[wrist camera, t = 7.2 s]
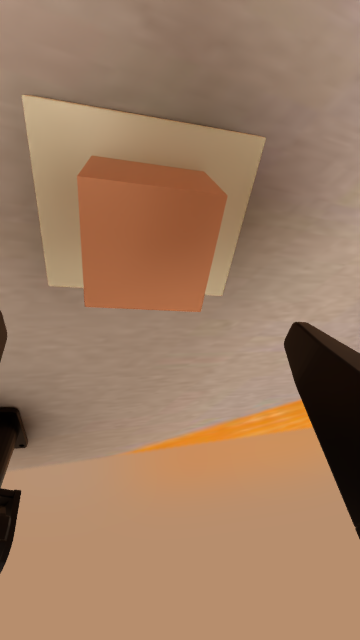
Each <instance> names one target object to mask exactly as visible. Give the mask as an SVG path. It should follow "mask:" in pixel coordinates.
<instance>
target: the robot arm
mask: <svg viewBox="0 0 360 640" xmlns="http://www.w3.org/2000/svg"><path fill="white" fill-rule="evenodd" d="M6 341H7V330H6V326H5V323H4V319H3V315H2V313H1V311H0V361H1V358H2V354H3V351H4V348H5V344H6ZM284 348H285V351H286V354H287V358H288V361H289V365H290V368H291V371H292V375H293V378H294V381H295V384H296V387H297V390H298V392H299V395H300V397H301V399H302V402H303V404H304V407H305V409H306V411H307V414H308V416H309V419H310V421H311V423H312V426H313V428H314V430H315V433H316V435H317V438H318V440H319V442H320V445H321V447H322V450H323V452H324V454H325V457H326V459H327V462H328V464H329V466H330V469H331V471H332V473H333V476H334V478H335V481H336V483H337V486H338V488H339V490H340V493H341V495H342V498H343V500H344V502H345V504H346V507H347V510H348V512H349V514H350V517H351V519H352V522H353V524H354V526H355V527H356V531H357V534H358V536H359V539H360V353H358V352H356V351H355V350H353V349H351V348H349V347H348V346H346V345H344V344H343V343H341V342H339V341H338V340H336V339H334V338H332V337H331V336H329V335H327V334H326V333H324V332H322V331H321V330H319V329H317V328H315V327H314V326H312V325H310V324H309V323H306V322H294V323H293V324H292V326H291V328H290V330H289V332H288V334H287V336H286V338H285V341H284ZM27 444H28V441H27V438H26V434H25V431H24V428H23V424H22V421H21V418H20V414H19V411H18V410H17V409H14V408H0V573H1V571H2V569H3V567H4V565H5V563H6V560H7V558H8V555H9V552H10V549H11V545H12V542H13V537H14V532H15V526H16V519H17V514H18V508H19V502H20V495H21V490H14V491H13V490H7V489H1V485H2V482H3V479H4V476H5V473H6V470H7V467H8V464H9V461H10V458H11V455H12V453H13V450H14V448H25V447H27Z"/></svg>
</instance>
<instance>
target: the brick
mask: <svg viewBox="0 0 360 640" xmlns="http://www.w3.org/2000/svg"><path fill="white" fill-rule="evenodd" d="M77 185H78V202H79V218H80V235H81V252H82V269H83V285H84V302H85V307H102V308H124V309H146V310H168V311H191V312H201V308H202V304H203V300H204V295H205V291H206V287H207V282H208V278H209V274H210V269H211V265H212V261H213V257H214V252H215V248H216V244H217V239H218V235H219V231H220V227H221V222H222V218H223V214H224V209H225V205H226V201H227V197H228V195H227V194H226V193H225V192H224V191H223V190H222V189H221V188H220V187H219V186H218V185H217V184H216V183H215V182H214V181H213V180H212V179H211V178H210V177H209V176H208V175H207V174H206V173H205V172H204V171H197V170H190V169H183V168H176V167H169V166H162V165H155V164H148V163H141V162H134V161H127V160H120V159H113V158H106V157H99V156H91V157H90V159H89V160H88V161H87V163H86V164H85V166H84V167H83V168H82V170H81V171H80V173H79V174H78V175H77Z"/></svg>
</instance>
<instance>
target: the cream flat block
mask: <svg viewBox="0 0 360 640" xmlns="http://www.w3.org/2000/svg"><path fill="white" fill-rule="evenodd" d="M22 101H23V108H24V116H25V123H26V130H27V137H28V144H29V151H30V158H31V165H32V172H33V179H34V186H35V194H36V201H37V208H38V215H39V222H40V229H41V236H42V243H43V250H44V257H45V265H46V272H47V279H48V286H58V287H75V288H84V285H83V269H82V252H81V235H80V218H79V202H78V185H77V175H78V174H79V173H80V171H81V170H82V168H83V167H84V166H85V164H86V163H87V161H88V160H89V159H90V157H91V156H99V157H106V158H113V159H120V160H127V161H134V162H141V163H148V164H155V165H162V166H169V167H176V168H183V169H190V170H197V171H204V172H205V173H206V174H207V175H208V176H209V177H210V178H211V179H212V180H213V181H214V182H215V183H216V184H217V185H218V186H219V187H220V188H221V189H222V190H223V191H224V192H225V193H226V194H227V195H228V197H227V201H226V205H225V209H224V214H223V218H222V222H221V227H220V231H219V235H218V239H217V244H216V248H215V252H214V257H213V261H212V265H211V269H210V274H209V278H208V282H207V287H206V291H205V295H212V296H222V295H223V291H224V287H225V284H226V280H227V277H228V273H229V269H230V266H231V262H232V259H233V255H234V251H235V248H236V244H237V241H238V237H239V233H240V230H241V226H242V223H243V219H244V216H245V212H246V208H247V205H248V201H249V198H250V194H251V190H252V187H253V183H254V180H255V176H256V172H257V169H258V165H259V162H260V158H261V154H262V151H263V147H264V144H265V140H266V138H264V137H261V136H258V135H253V134H247V133H241V132H236V131H230V130H224V129H219V128H213V127H207V126H202V125H196V124H190V123H185V122H179V121H174V120H168V119H162V118H157V117H151V116H145V115H140V114H134V113H128V112H123V111H117V110H111V109H106V108H100V107H95V106H89V105H83V104H78V103H72V102H66V101H61V100H55V99H49V98H44V97H38V96H32V95H22Z"/></svg>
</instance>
